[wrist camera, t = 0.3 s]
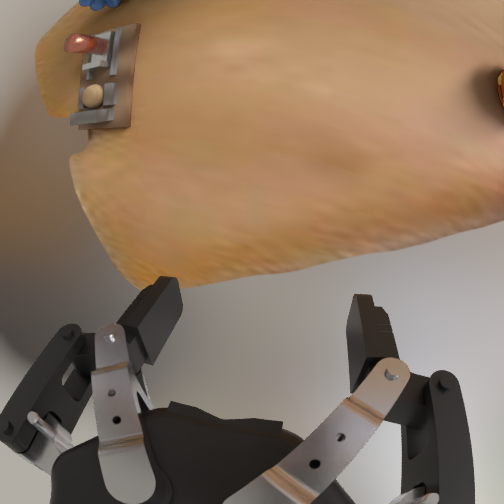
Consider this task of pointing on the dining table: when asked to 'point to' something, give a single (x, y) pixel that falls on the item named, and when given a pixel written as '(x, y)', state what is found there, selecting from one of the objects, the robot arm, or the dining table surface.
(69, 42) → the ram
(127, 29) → the base
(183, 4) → the dining table surface
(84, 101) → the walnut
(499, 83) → the cheeseburger
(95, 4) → the grapes
